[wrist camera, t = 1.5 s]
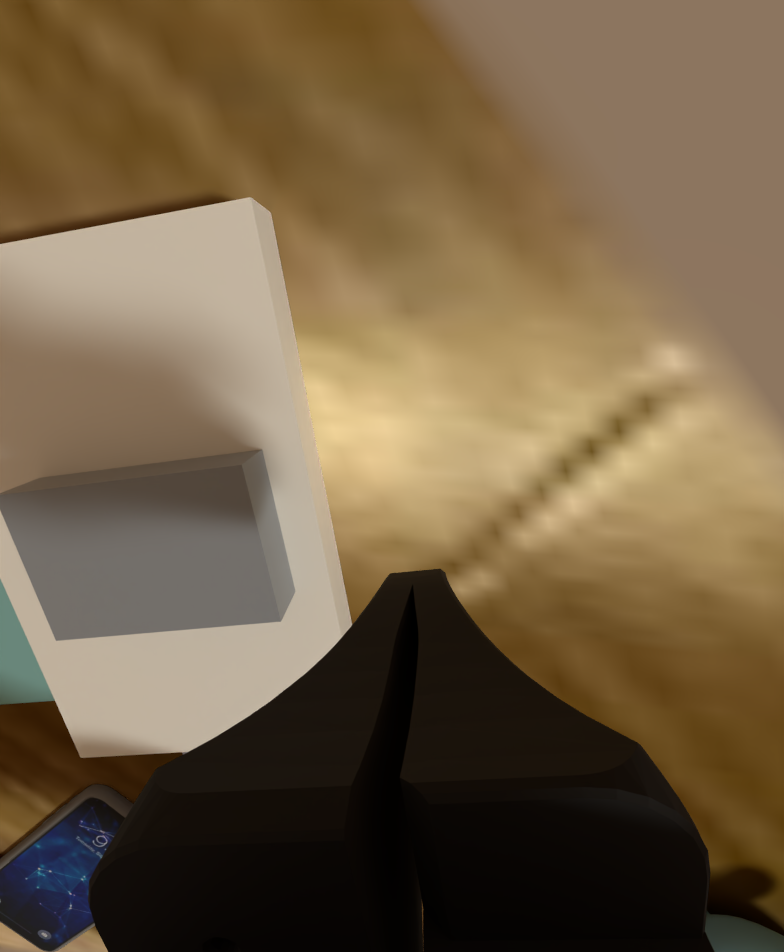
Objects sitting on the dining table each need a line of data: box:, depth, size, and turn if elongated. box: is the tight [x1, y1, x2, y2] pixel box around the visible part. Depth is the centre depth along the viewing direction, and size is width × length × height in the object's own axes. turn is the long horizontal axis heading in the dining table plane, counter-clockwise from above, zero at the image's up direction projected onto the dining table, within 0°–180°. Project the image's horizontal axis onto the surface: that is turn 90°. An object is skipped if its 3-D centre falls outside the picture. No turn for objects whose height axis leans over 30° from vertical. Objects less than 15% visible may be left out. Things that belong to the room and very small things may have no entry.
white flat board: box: [0, 197, 352, 758], centre depth 19 cm, size 22×14×2 cm, turn 8°
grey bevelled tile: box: [0, 450, 296, 641], centre depth 17 cm, size 6×9×2 cm, turn 98°
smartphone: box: [0, 784, 133, 952], centre depth 28 cm, size 7×1×15 cm
